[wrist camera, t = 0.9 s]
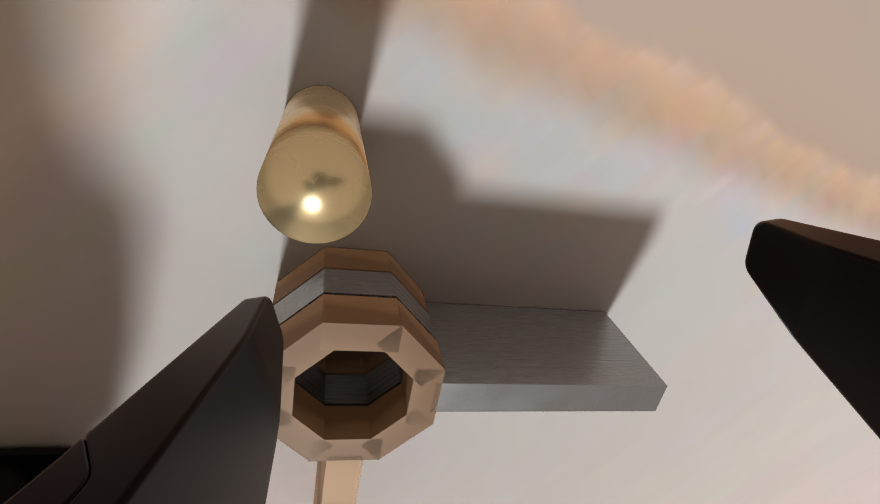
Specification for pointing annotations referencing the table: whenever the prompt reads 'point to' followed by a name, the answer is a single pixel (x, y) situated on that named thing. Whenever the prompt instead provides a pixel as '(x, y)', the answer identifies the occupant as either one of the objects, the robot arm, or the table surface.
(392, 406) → the tan hinge leaf
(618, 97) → the table surface
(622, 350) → the slate leaf
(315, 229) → the brass pin
